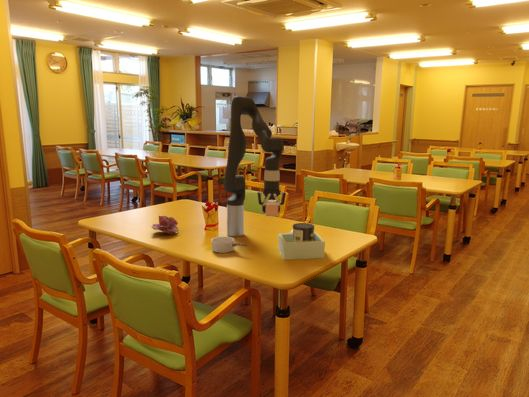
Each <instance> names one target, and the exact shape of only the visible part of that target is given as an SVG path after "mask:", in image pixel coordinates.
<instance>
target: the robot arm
mask: <svg viewBox="0 0 529 397" xmlns="http://www.w3.org/2000/svg"><path fill="white" fill-rule="evenodd" d="M242 115H243V116H249V117H250V118H251V120H252V121H251V128H252V130H253V133H254V134H255V135H256V136H257V138H258V141H259V144H260V147H261V150H263V152H265V153H268V154H269V153H271V156H268V157H266V158H265V160H264V173H263V175H264V176H263V191H257V201H258V204H259V205H260V206H261V208H262V209H261V210H262V212H263V214H264V213H265V205H266V204H265V202H267V201H268V200H276V202H278V203H279V205H278V214H280V212H281V206H282V205H285V200H286V194H287V193H286V192H285V191H280V190H281V189H280V183H281V182H280V181H281V180H280V176H281V174H280V164H281V163H280V162H281V158H282V155H283V151H284V147H285V146H284V140H283V139H282V138H281V137H278V136H277V137H272V135H273V132H272V130H271V129H270V127H269V126H268V125H267V123H265V122H266V121H264V119H263V117H262V116H261V113H260V111H259V108H258V107H257V104H256V103H255V101H254V100H253V98H252V97H251V96H244V95H235V96H233V98H232V100H231V104H230V131H229V132H230V133H229V140H228V141H229V142H228V148H227V150H228V152H227V163H226V168H225V173H224V177H223V178H224V179H223V189H224V191H225V192H226V193H228V194H231V196H230V197H228V198H227V199H226V237H233V238H235V237H242V236H244V235H245V233H244V232H245V223H244V222H245V217H244V216H245V214H244V213H245V211H244V209H245V205H244V202H245V200H246V189H247V188H246V184H247V183H246V179H245V177H244V176H243V175H242V174H237V171H238V167H239V165H240V163H241V162H242V161H243V159H244V157H245V154H246V151H247V145H248V144H247V143H248V142H247V137H246V134H245V132H244V130H243V128H242V124H241V120H242V118H241V117H242ZM263 196H264V199H263V201H262V197H263ZM279 196H280V197H281V200H279V198H278V197H279Z"/></svg>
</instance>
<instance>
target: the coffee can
mask: <svg viewBox="0 0 529 397" xmlns="http://www.w3.org/2000/svg"><path fill="white" fill-rule="evenodd" d="M292 230H293V242H303V241H314V233H315V225H314V224H312V223H309V222H299V223H297V222H296V223H294V224H293V225H292Z"/></svg>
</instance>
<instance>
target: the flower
mask: <svg viewBox="0 0 529 397" xmlns="http://www.w3.org/2000/svg"><path fill="white" fill-rule="evenodd" d="M177 225H179V223H178V221H177V219H175V218H174V217H172V216H169V217H168V216H166V215H158V223H152V226H151V228H152V229H153V230H157V231H161V232H162V233H163V232H164V233H166V234H168V235H169V234H171V235H173V234H176V232H177V231H178V232H179V228H178V226H177Z"/></svg>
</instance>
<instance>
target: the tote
mask: <svg viewBox="0 0 529 397" xmlns="http://www.w3.org/2000/svg"><path fill="white" fill-rule="evenodd" d="M277 240H278V243H277V245H278V246H277V248H278V251H279V253H280V255H281V257H282V259H283V260H305V259H307V260H309V259H325V250H326V249H325V247H326V244H325V243H326V242H325V240H324V239H323V238H322V237H321V236H320V234H318V233H317V232H314V241H303V242H293V233H290V232H288V233H278V239H277Z"/></svg>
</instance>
